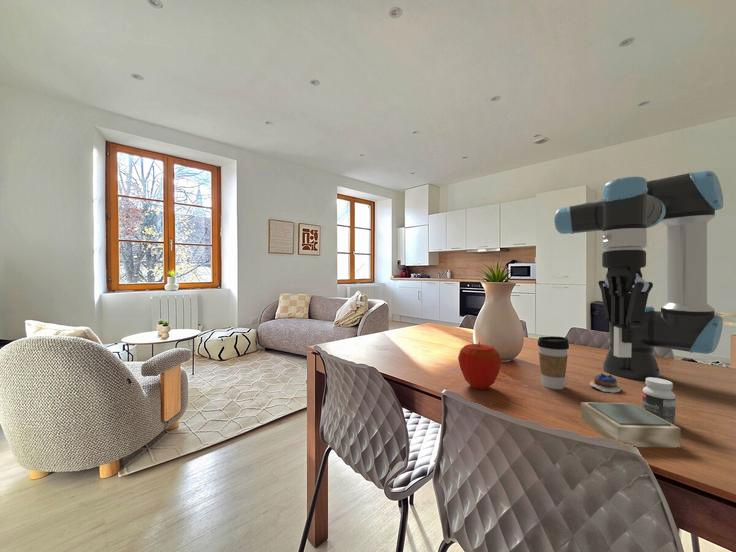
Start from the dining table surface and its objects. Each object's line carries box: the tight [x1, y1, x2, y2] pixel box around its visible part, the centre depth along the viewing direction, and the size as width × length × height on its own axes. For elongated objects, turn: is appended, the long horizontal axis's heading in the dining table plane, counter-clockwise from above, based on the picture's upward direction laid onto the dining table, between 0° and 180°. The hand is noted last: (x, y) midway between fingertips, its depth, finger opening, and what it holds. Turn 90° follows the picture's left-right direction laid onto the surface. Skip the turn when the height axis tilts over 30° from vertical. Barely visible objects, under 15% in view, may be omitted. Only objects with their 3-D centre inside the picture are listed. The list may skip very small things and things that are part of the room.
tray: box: [580, 401, 682, 449], centre depth 69 cm, size 12×12×4 cm
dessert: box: [589, 372, 622, 394], centre depth 94 cm, size 8×7×6 cm
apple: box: [457, 341, 502, 391], centre depth 96 cm, size 12×12×14 cm
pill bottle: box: [641, 377, 676, 426], centre depth 73 cm, size 6×6×10 cm
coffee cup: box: [537, 336, 570, 390], centre depth 97 cm, size 8×8×15 cm
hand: (622, 356), depth 69 cm, fingers closed
